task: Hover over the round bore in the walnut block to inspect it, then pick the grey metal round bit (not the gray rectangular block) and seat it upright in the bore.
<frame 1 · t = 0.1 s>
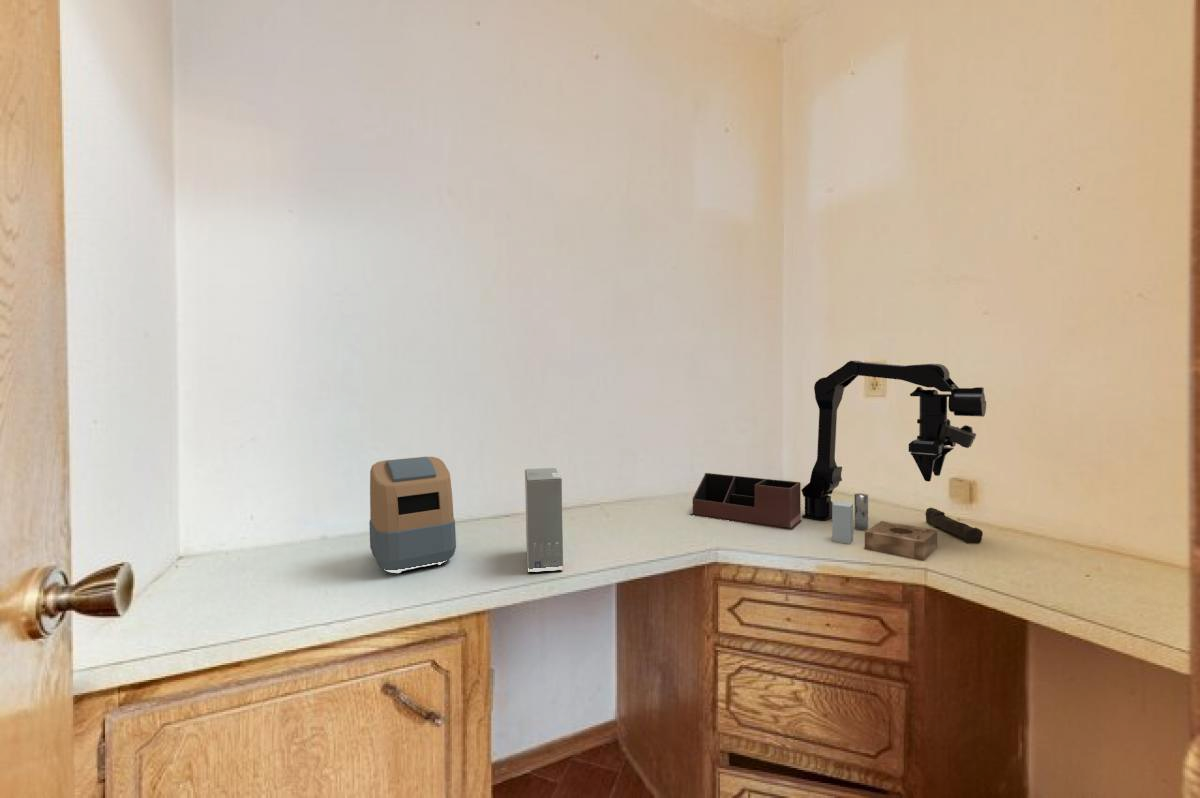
hand: (932, 478, 130), 15 cm above the worktop, fingers open, 9 cm apart
hard drive box: (543, 562, 119), on the worktop
gray rectangular block: (842, 540, 129), on the worktop
round bit: (861, 528, 138), on the worktop
bore block: (900, 547, 123), on the worktop
hand tool: (947, 533, 134), on the worktop
alarm clock: (413, 562, 120), on the worktop
desk organizer: (744, 519, 151), on the worktop
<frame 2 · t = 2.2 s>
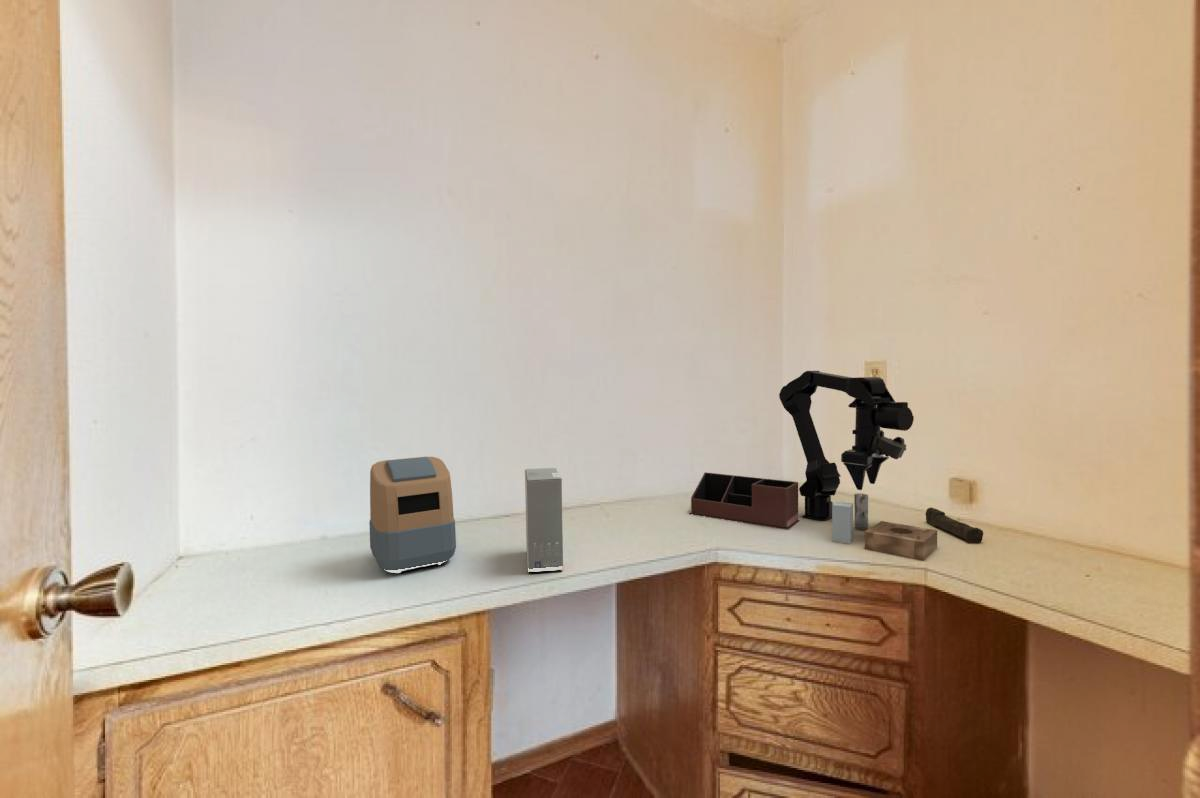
hand: (866, 486, 136), 12 cm above the worktop, fingers open, 9 cm apart
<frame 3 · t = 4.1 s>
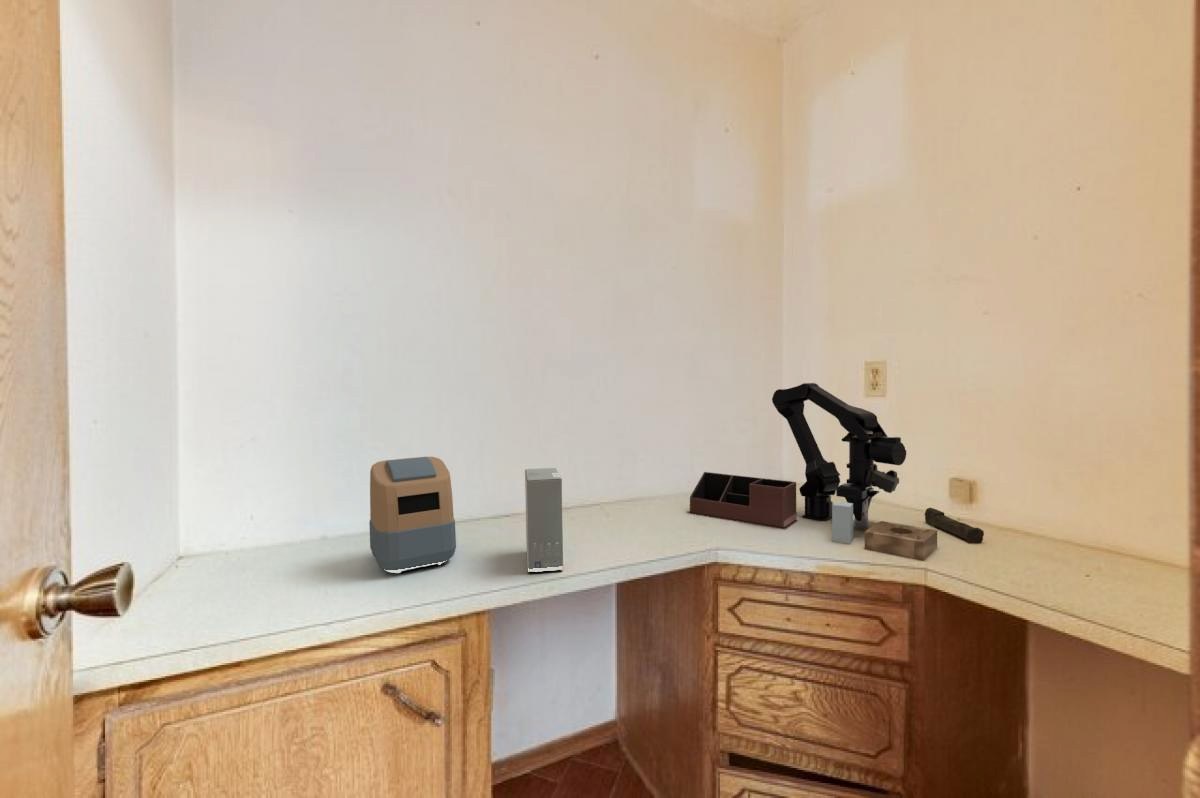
hand: (861, 519, 138), 3 cm above the worktop, fingers closed on round bit, 3 cm apart
round bit: (861, 528, 138), on the worktop, touching gripper
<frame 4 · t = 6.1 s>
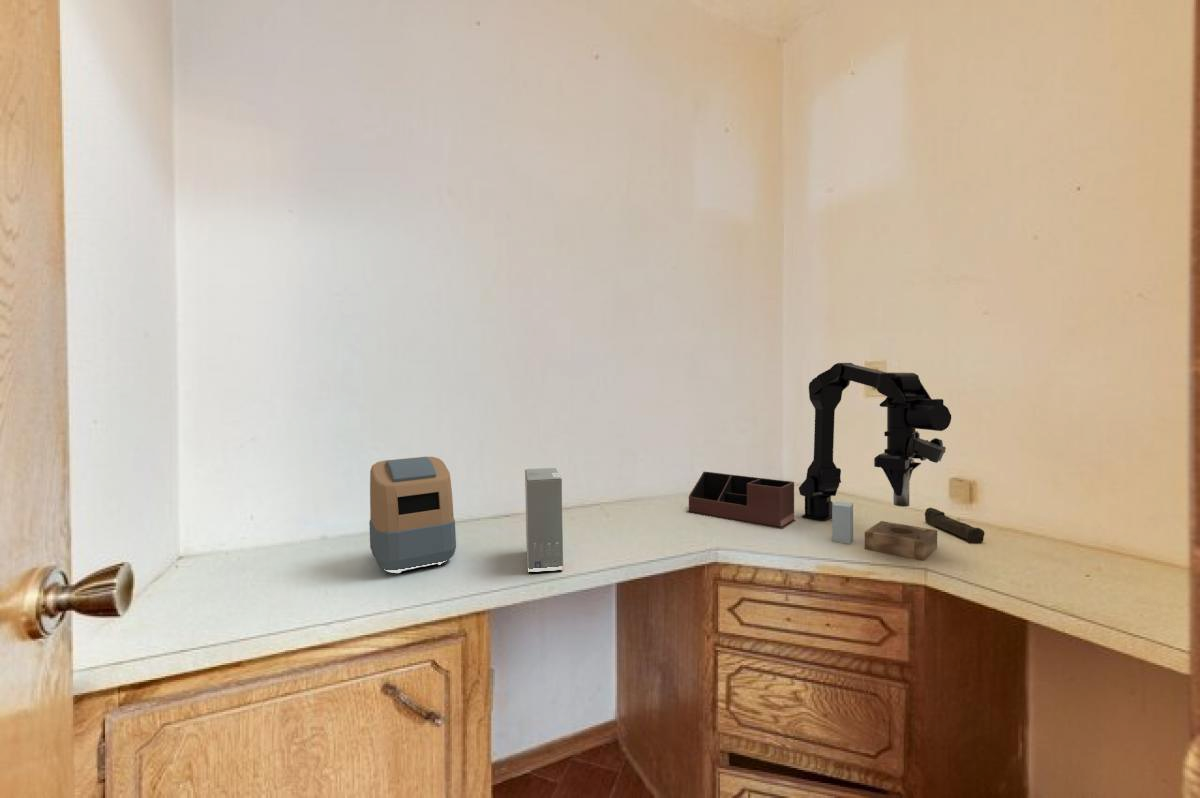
hand: (901, 494, 122), 13 cm above the worktop, fingers closed on round bit, 3 cm apart
round bit: (901, 504, 122), point 10 cm above the worktop, touching gripper
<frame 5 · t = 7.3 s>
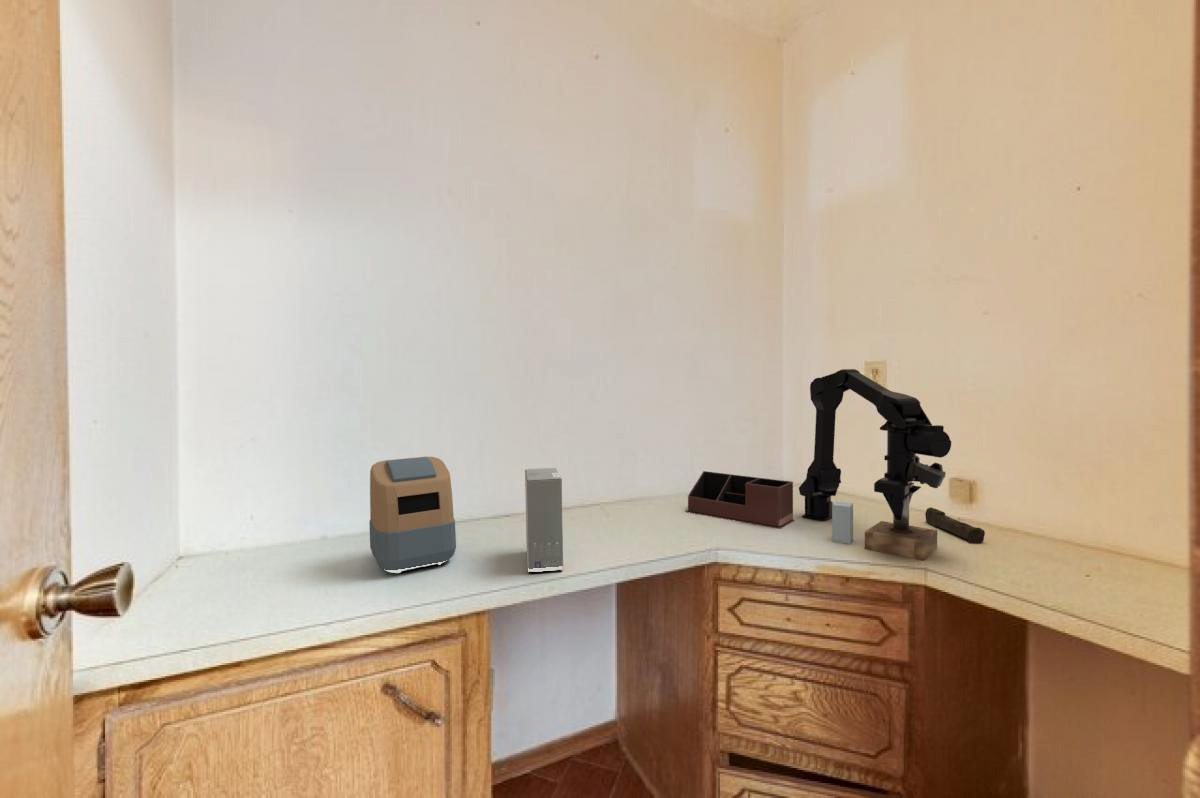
hand: (900, 518, 123), 7 cm above the worktop, fingers closed on round bit, 3 cm apart
round bit: (901, 528, 123), point 4 cm above the worktop, touching gripper
when the fingers open (4 cm above the worktop, at t = 8.2 s): round bit drops 2 cm, resting on bore block.
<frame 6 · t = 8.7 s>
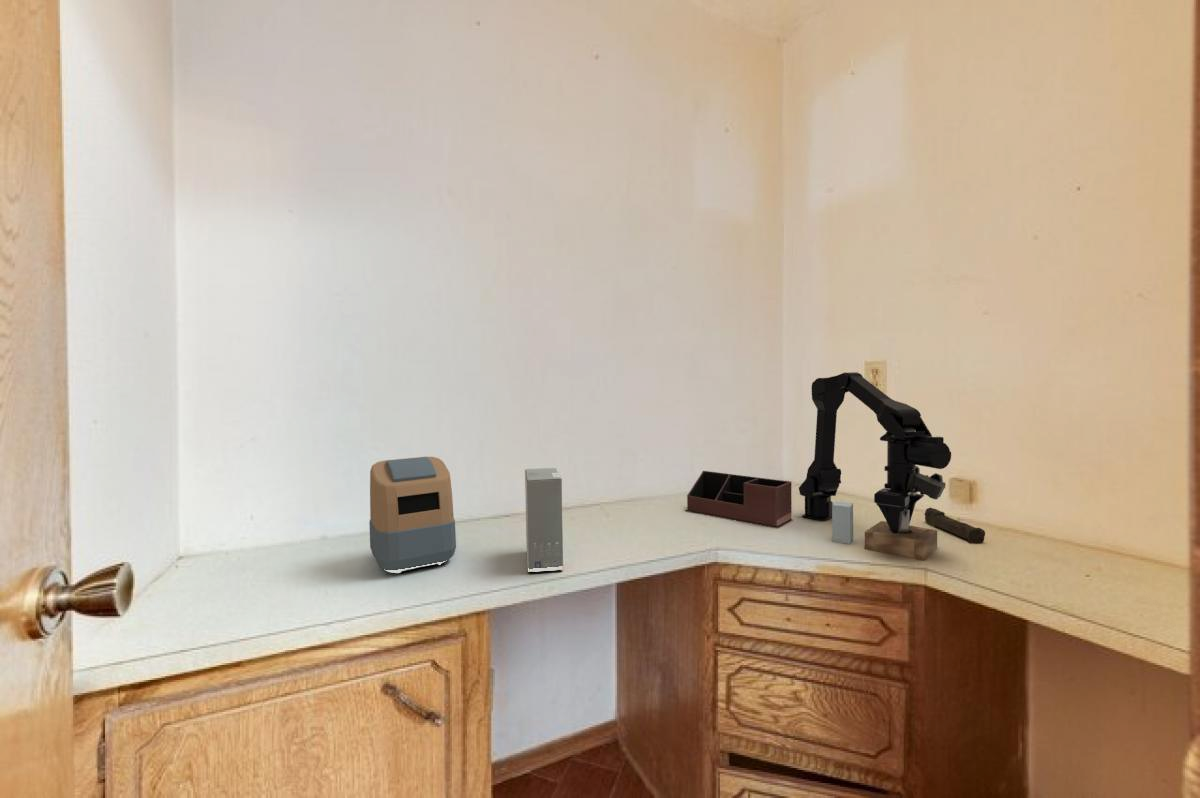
hand: (900, 528, 123), 4 cm above the worktop, fingers open, 9 cm apart
round bit: (901, 547, 123), resting on bore block
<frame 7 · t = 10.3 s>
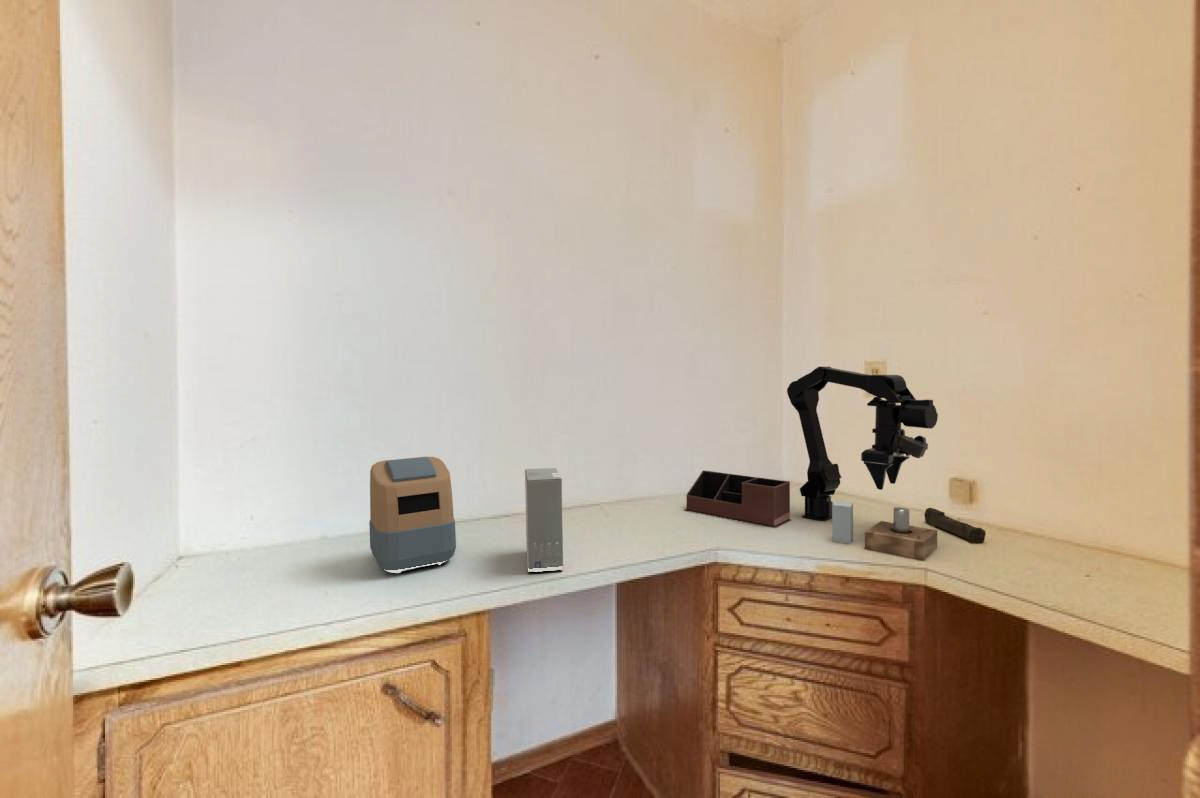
hand: (886, 486, 133), 12 cm above the worktop, fingers open, 9 cm apart
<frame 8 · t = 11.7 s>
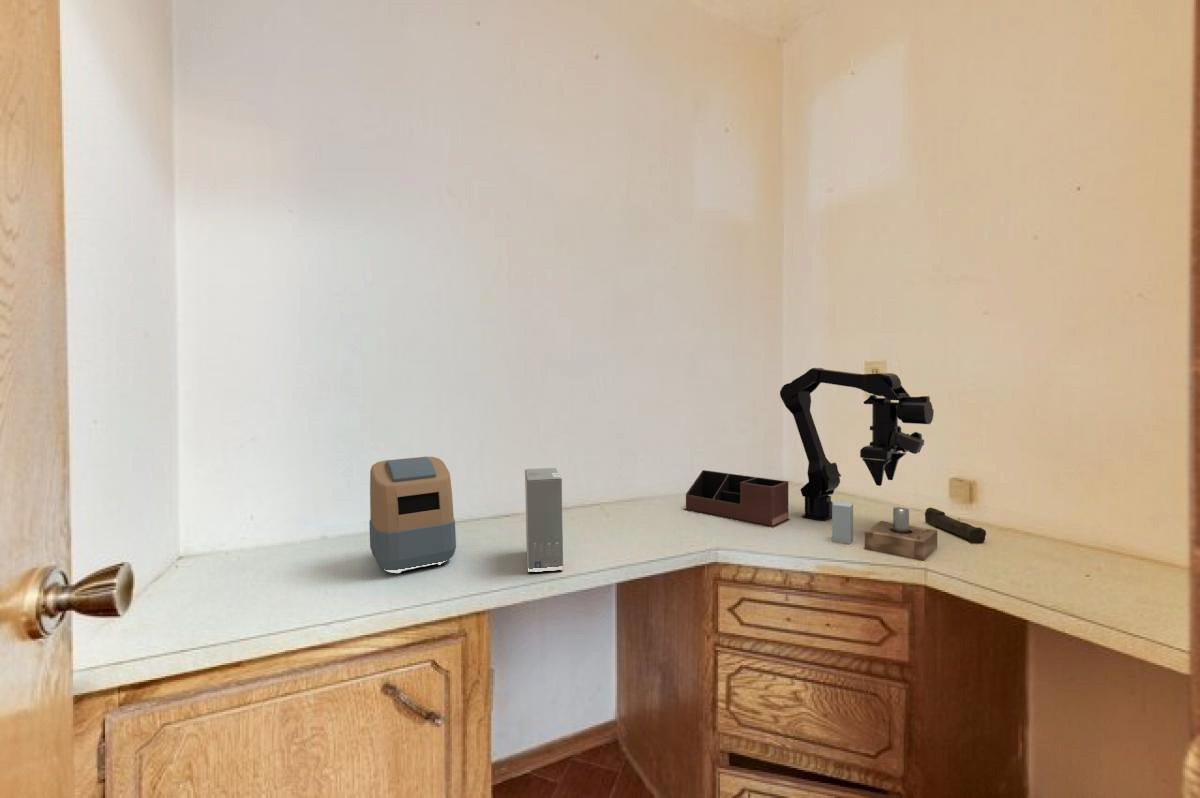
hand: (884, 482, 136), 13 cm above the worktop, fingers open, 9 cm apart
at the end: round bit 0.0 cm off-centre on the bore block, point 0.1 cm above the bore block's base; round bit tilted 1°; the gripper is holding nothing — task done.
